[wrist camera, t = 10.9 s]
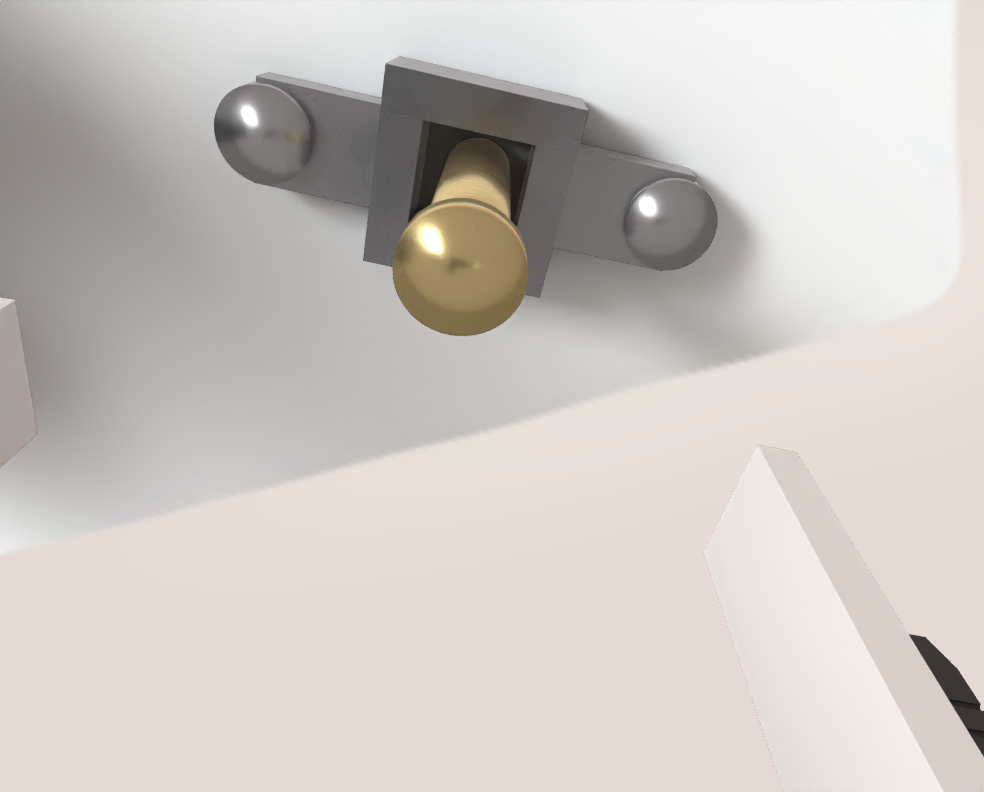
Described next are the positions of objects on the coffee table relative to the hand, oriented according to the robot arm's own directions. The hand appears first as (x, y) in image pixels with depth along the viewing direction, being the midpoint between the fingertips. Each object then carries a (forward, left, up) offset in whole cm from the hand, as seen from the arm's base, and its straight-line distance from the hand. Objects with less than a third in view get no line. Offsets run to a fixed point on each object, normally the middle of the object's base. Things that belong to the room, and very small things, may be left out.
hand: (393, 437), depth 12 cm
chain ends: (0, 0, -22) cm, 22 cm away
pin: (0, 0, -22) cm, 22 cm away
